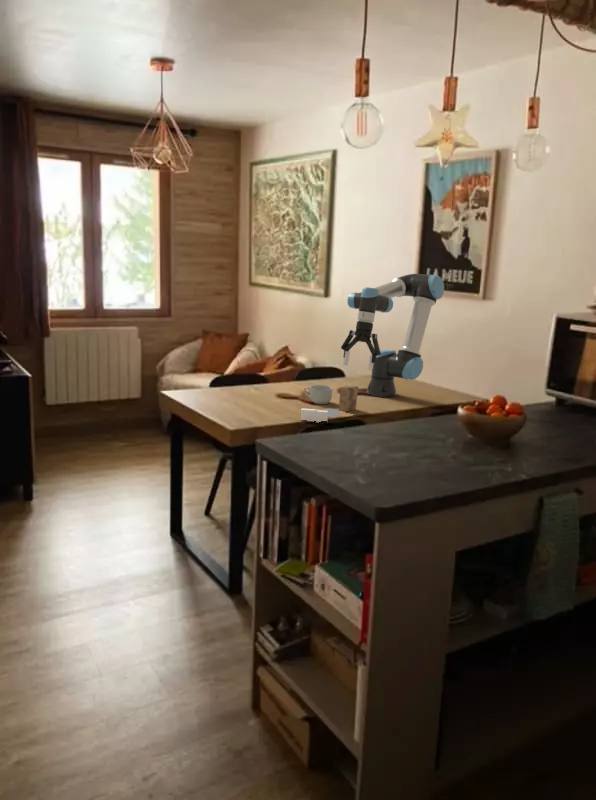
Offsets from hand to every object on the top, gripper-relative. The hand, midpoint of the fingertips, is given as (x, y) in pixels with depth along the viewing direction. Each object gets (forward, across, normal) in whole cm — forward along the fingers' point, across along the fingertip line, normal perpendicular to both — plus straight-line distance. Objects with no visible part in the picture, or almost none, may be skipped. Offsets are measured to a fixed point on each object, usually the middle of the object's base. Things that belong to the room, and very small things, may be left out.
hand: (357, 367), depth 312 cm
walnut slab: (+20, -1, -1) cm, 20 cm away
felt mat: (+22, -1, -12) cm, 25 cm away
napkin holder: (+26, +1, -28) cm, 38 cm away
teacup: (+20, -20, +1) cm, 29 cm away
